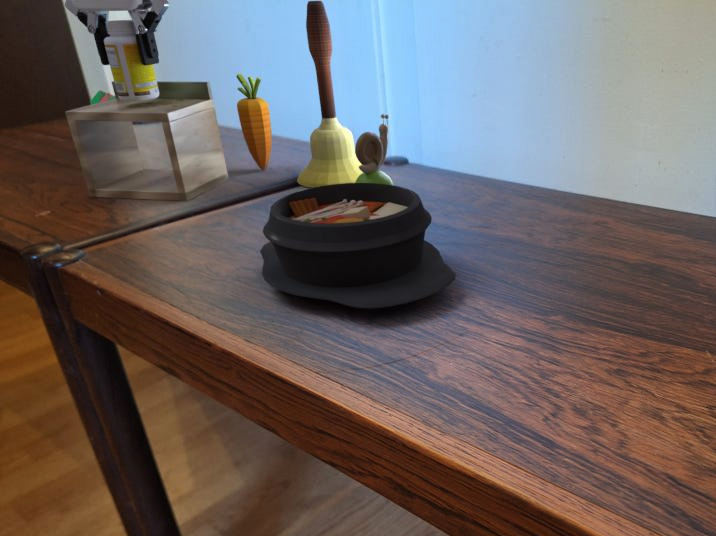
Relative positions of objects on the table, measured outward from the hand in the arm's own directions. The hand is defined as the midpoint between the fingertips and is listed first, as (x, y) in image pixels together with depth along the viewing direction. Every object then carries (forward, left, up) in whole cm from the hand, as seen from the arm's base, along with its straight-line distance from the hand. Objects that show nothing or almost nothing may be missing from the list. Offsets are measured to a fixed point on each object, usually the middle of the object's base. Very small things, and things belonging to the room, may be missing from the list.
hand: (130, 62), depth 99 cm
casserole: (+43, -30, -18) cm, 55 cm away
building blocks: (-41, +49, -18) cm, 66 cm away
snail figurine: (+37, -6, -18) cm, 42 cm away
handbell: (+25, +9, -18) cm, 32 cm away
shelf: (0, 0, -18) cm, 18 cm away
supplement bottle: (0, 0, -5) cm, 5 cm away
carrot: (+11, +12, -18) cm, 24 cm away
